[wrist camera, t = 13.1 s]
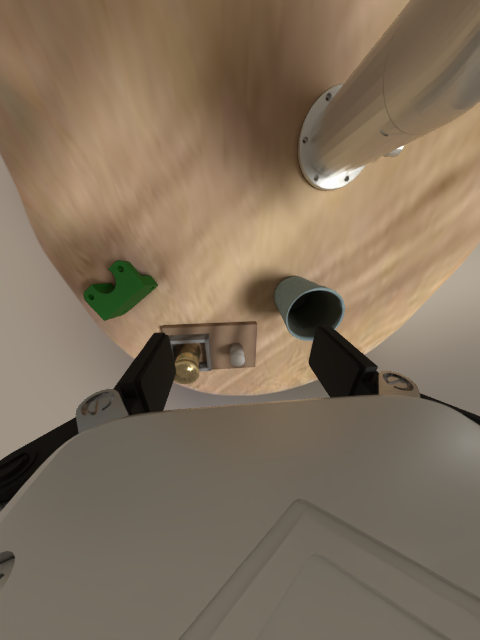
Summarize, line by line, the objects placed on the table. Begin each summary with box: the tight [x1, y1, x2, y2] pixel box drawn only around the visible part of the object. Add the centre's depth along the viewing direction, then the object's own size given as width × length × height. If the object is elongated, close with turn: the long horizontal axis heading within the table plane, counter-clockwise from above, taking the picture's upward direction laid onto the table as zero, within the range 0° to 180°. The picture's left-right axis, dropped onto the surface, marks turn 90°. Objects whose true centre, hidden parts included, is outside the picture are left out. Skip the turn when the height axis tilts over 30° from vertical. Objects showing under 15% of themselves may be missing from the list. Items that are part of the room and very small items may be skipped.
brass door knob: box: [174, 343, 201, 384], centre depth 39 cm, size 6×6×8 cm
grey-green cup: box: [274, 276, 345, 341], centre depth 35 cm, size 10×10×12 cm
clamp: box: [84, 260, 158, 321], centre depth 34 cm, size 12×6×9 cm, turn 120°
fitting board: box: [162, 322, 257, 371], centre depth 41 cm, size 22×13×6 cm, turn 90°
